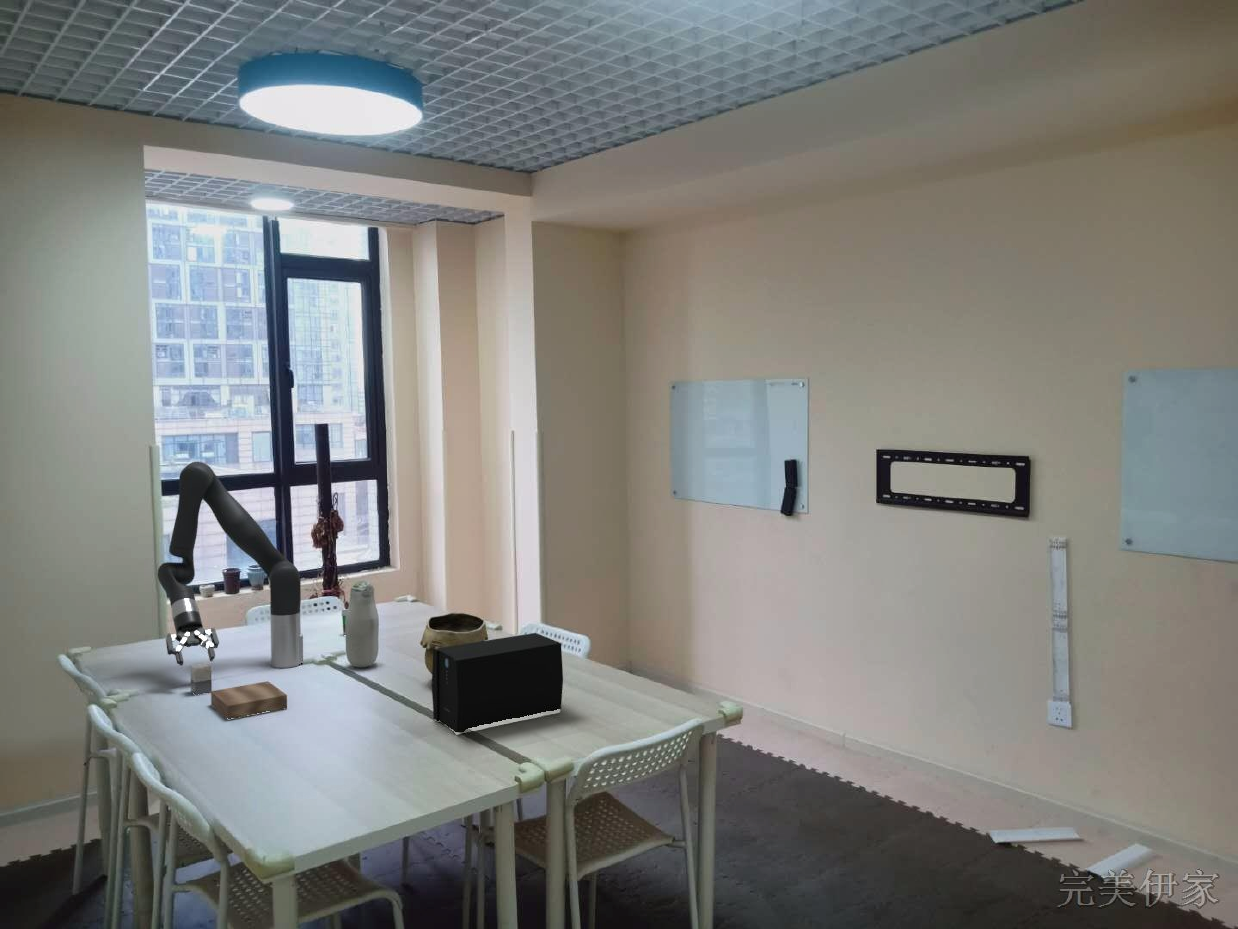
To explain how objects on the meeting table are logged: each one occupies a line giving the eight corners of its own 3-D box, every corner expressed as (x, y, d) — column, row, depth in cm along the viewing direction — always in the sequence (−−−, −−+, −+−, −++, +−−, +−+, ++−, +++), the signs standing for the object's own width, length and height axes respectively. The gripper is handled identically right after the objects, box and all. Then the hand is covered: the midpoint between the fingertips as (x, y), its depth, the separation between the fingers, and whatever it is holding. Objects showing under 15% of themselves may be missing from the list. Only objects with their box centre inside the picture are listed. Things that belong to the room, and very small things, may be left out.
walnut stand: (268, 694, 280) (268, 681, 280) (287, 708, 268) (286, 695, 268) (211, 705, 270) (211, 691, 270) (228, 720, 258) (227, 706, 258)
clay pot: (500, 686, 291) (500, 621, 289) (434, 697, 280) (434, 630, 278) (474, 669, 308) (474, 608, 307) (411, 678, 298) (410, 615, 296)
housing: (207, 689, 285) (206, 662, 285) (211, 692, 282) (211, 666, 281) (191, 691, 282) (190, 665, 282) (195, 695, 279) (194, 669, 278)
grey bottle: (340, 669, 307) (339, 583, 305) (359, 661, 317) (359, 577, 315) (365, 672, 303) (364, 585, 301) (384, 664, 313) (384, 580, 311)
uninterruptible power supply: (431, 719, 261) (431, 647, 259) (538, 698, 280) (538, 631, 279) (458, 737, 247) (458, 661, 246) (567, 713, 267) (568, 643, 265)
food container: (357, 638, 346) (356, 611, 345) (341, 637, 347) (341, 610, 347) (372, 630, 358) (372, 603, 357) (357, 629, 359) (357, 603, 359)
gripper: (163, 612, 285) (173, 659, 277) (213, 607, 294) (224, 651, 286) (159, 626, 290) (169, 672, 282) (208, 620, 299) (219, 664, 291)
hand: (197, 662), depth 284 cm, fingers open, 8 cm apart
